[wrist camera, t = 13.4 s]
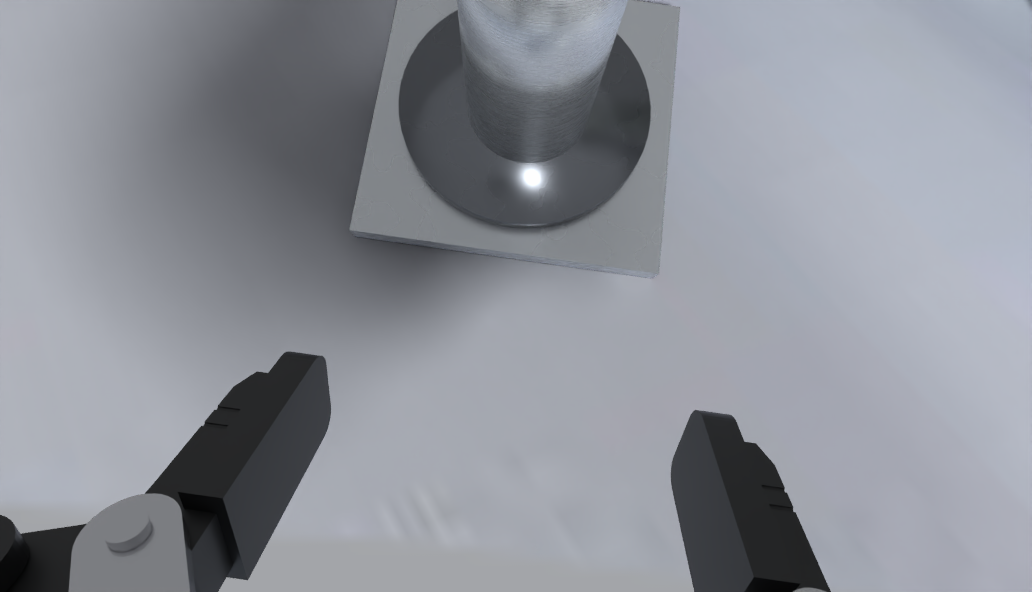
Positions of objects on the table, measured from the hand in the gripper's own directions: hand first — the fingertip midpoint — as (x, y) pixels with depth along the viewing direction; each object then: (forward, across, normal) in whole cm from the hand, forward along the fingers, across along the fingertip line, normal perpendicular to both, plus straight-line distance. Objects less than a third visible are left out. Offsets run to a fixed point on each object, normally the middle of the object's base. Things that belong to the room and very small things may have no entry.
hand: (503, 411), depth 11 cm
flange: (+14, +1, -3) cm, 14 cm away
